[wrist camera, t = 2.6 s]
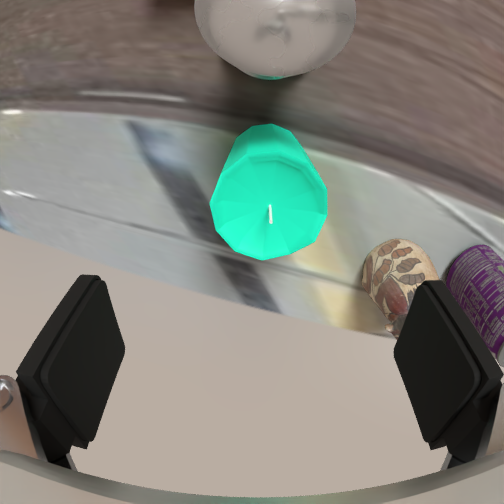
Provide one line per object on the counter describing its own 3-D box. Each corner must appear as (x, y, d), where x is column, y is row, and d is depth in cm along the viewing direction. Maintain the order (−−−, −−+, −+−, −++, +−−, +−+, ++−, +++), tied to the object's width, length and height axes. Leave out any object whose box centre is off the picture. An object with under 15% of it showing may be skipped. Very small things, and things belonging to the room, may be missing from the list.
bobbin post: (316, 0, 18) (354, -49, 9) (314, 82, 22) (354, 83, 12) (223, -3, 18) (197, -57, 9) (222, 79, 22) (193, 77, 12)
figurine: (346, 271, 30) (379, 367, 20) (401, 222, 27) (463, 303, 17) (385, 308, 32) (421, 397, 22) (435, 266, 30) (490, 346, 19)
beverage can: (483, 291, 31) (532, 360, 21) (437, 298, 32) (483, 378, 21) (498, 239, 28) (561, 304, 17) (450, 243, 28) (513, 319, 18)
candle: (225, 190, 26) (202, 269, 16) (233, 118, 23) (210, 150, 13) (297, 199, 27) (320, 283, 16) (309, 129, 24) (348, 169, 13)
